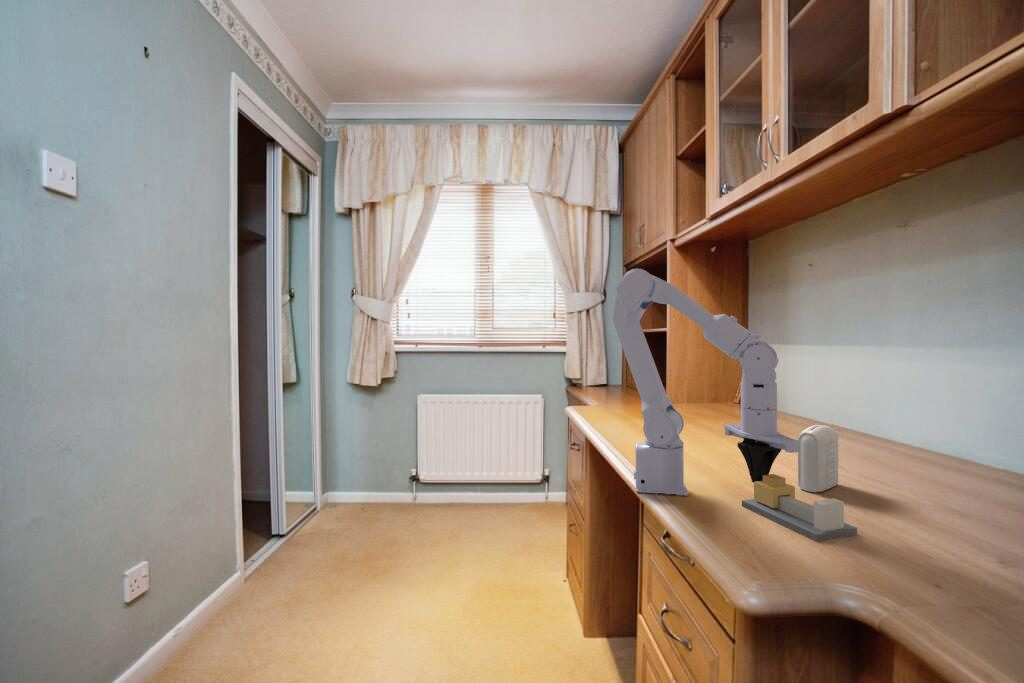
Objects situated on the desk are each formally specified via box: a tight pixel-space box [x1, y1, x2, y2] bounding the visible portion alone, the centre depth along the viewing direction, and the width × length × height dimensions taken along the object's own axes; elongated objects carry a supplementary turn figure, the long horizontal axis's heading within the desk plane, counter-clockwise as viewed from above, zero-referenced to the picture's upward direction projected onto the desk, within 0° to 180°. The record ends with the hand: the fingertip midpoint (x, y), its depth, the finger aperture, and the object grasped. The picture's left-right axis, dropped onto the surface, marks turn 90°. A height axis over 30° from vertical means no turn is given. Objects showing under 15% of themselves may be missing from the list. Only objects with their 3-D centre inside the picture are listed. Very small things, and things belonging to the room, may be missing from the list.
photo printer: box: [797, 424, 839, 493], centre depth 86 cm, size 10×4×12 cm, turn 123°
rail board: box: [741, 495, 858, 542], centre depth 71 cm, size 14×8×5 cm, turn 15°
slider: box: [753, 473, 796, 508], centre depth 75 cm, size 4×5×4 cm
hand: (759, 482), depth 78 cm, fingers closed
